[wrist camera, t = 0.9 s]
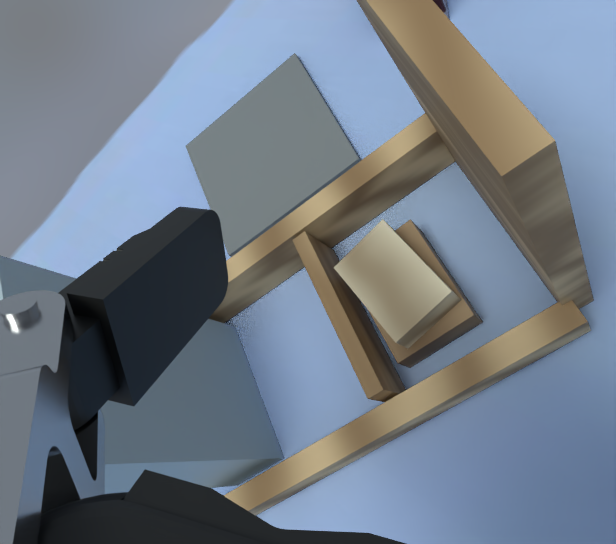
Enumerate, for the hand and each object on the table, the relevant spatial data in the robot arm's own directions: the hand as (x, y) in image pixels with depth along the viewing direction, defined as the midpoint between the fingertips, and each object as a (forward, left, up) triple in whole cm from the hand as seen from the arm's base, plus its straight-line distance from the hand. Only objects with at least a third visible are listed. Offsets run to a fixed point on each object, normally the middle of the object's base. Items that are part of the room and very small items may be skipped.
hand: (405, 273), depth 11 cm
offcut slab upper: (+4, -8, -20) cm, 22 cm away
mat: (+8, -24, -22) cm, 34 cm away
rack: (+9, -8, -22) cm, 25 cm away
